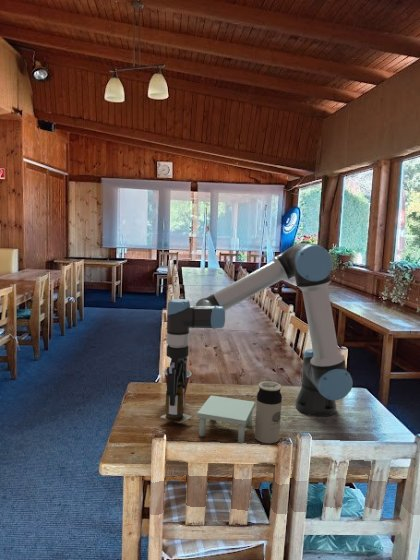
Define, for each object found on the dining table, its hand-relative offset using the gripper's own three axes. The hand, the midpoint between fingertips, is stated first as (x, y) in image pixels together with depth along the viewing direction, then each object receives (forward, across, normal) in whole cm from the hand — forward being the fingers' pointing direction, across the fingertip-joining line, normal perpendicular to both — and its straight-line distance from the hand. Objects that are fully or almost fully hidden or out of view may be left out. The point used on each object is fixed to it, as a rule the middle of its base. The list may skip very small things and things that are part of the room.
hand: (176, 409), depth 154 cm
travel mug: (+5, 0, +32) cm, 32 cm away
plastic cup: (+5, -18, -6) cm, 20 cm away
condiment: (+3, 0, 0) cm, 3 cm away
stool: (+5, -1, +18) cm, 18 cm away
